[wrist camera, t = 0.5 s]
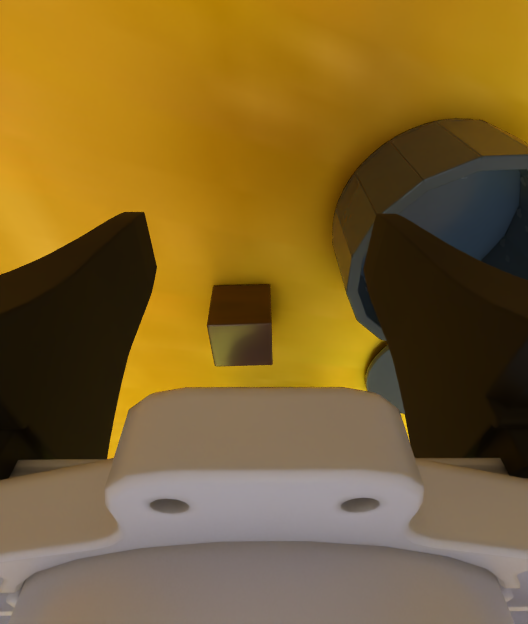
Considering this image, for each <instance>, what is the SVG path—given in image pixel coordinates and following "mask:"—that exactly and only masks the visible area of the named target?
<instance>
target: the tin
mask: <svg viewBox="0 0 528 624" xmlns="http://www.w3.org/2000/svg"><path fill="white" fill-rule="evenodd" d="M376 213H380V214H398V215H400V216H402V217H404V218H406V219H408V220H410V221H411V222H413V223H415V224H416V225H418V226H420V227H421V228H423V229H424V230H426V231H428V232H429V233H431V234H433V235H434V236H436V237H437V238H439V239H441V240H442V241H444V242H446V243H448V244H449V245H451V246H453V247H455V248H456V249H458V250H460V251H462V252H464V253H466V254H468V255H470V256H471V257H473V258H475V259H477V260H480V261H482V262H484V263H486V264H488V265H491V266H493V267H495V268H497V269H500V270H502V271H504V272H507V273H509V274H512V275H514V276H517V277H520V278H522V279H525V280H528V143H526V142H524V141H522V140H521V139H519V138H517V137H516V136H514V135H512V134H510V133H508V132H505V131H503V130H501V129H499V128H498V127H496V126H494V125H491V124H489V123H487V122H485V121H483V120H473V119H459V118H454V119H445V120H438V121H434V122H430V123H426V124H423V125H420V126H418V127H415V128H412V129H410V130H408V131H406V132H404V133H402V134H400V135H398V136H396V137H394V138H393V139H391V140H390V141H388V142H387V143H385V144H384V145H382V146H381V147H380V148H379V149H377V150H376V151H375V152H374V153H373V154H371V155H370V156H369V157H368V158H367V159H366V160H365V161H364V162H363V163H362V164H361V165H360V167H359V168H358V169H357V170H356V172H355V173H354V174H353V175H352V177H351V178H350V180H349V181H348V183H347V185H346V186H345V188H344V190H343V192H342V194H341V196H340V198H339V200H338V203H337V207H336V210H335V213H334V219H333V230H332V235H333V239H332V244H333V248H334V251H335V255H336V259H337V262H338V266H339V269H340V273H341V276H342V280H343V283H344V287H345V290H346V294H347V296H348V299H349V301H350V304H351V307H352V309H353V312H354V314H355V317H356V320H357V321H358V322H359V323H361V324H362V325H363V326H364V327H366V328H367V329H368V330H369V331H370V332H372V333H373V334H374V335H375V336H377V337H378V338H379V339H381V340H384V341H386V339H385V336H384V333H383V331H382V328H381V325H380V323H379V320H378V318H377V315H376V312H375V310H374V307H373V304H372V302H371V299H370V296H369V293H368V289H367V285H366V280H365V274H364V269H363V267H364V263H365V259H366V254H367V250H368V246H369V242H370V238H371V233H372V229H373V225H374V221H375V217H376Z"/></svg>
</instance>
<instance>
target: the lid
mask: <svg viewBox="0 0 528 624" xmlns="http://www.w3.org/2000/svg"><path fill="white" fill-rule="evenodd" d="M365 382H366V388H367V391H368V392H373V393H376V394H379V395H381V396H382V397H383V398H384V399H386V400H387V401H388V402H390V403H391V404H392V405H394V406H395V407H396V408H398V409H399V412H400V413H403V414H405V412H404V407H403V403H402V398H401V393H400V389H399V384H398V380H397V376H396V372H395V368H394V363H393V359H392V356H391V353H390V350H389V347H388V345H387V346H386V347H385V348H383V349H382V350H381V351H380V352H379V353H378V354H377V355H376V356H375V358H374V359H373V360H372V362H371V363H370V365H369V367H368V370H367V372H366V378H365Z"/></svg>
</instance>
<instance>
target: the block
mask: <svg viewBox="0 0 528 624" xmlns="http://www.w3.org/2000/svg"><path fill="white" fill-rule="evenodd" d="M207 328H208V334H209V339H210V344H211V349H212V354H213V359H214V364H215V366H247V365H272V364H273V359H272V321H271V292H270V284H259V285H227V286H213V290H212V296H211V303H210V309H209V315H208V322H207Z"/></svg>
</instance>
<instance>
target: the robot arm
mask: <svg viewBox="0 0 528 624" xmlns="http://www.w3.org/2000/svg"><path fill="white" fill-rule="evenodd" d="M156 269H157V266H156V261H155V257H154V253H153V248H152V244H151V239H150V235H149V231H148V226H147V222H146V218H145V213H144V212H123V213H121V214H119V215H117V216H115V217H113V218H111V219H109V220H108V221H106V222H104V223H103V224H101V225H99V226H98V227H96V228H94V229H93V230H91V231H90V232H88V233H86V234H85V235H83V236H81V237H80V238H78V239H76V240H74V241H72V242H71V243H69V244H67V245H65V246H63V247H61V248H60V249H58V250H56V251H54V252H52V253H50V254H48V255H46V256H44V257H42V258H40V259H38V260H36V261H34V262H31V263H29V264H27V265H24V266H22V267H20V268H17V269H15V270H12V271H10V272H7V273H4V274H1V275H0V624H528V280H525V279H522V278H520V277H517V276H514V275H512V274H509V273H507V272H504V271H502V270H500V269H497V268H495V267H493V266H491V265H488V264H486V263H484V262H482V261H480V260H477V259H475V258H473V257H471V256H470V255H468V254H466V253H464V252H462V251H460V250H458V249H456V248H455V247H453V246H451V245H449V244H448V243H446V242H444V241H442V240H441V239H439V238H437V237H436V236H434V235H433V234H431V233H429V232H428V231H426V230H424V229H423V228H421V227H420V226H418V225H416V224H415V223H413V222H411V221H410V220H408V219H406V218H404V217H402V216H400V215H398V214H380V213H376V217H375V221H374V225H373V229H372V233H371V238H370V242H369V246H368V250H367V254H366V259H365V263H364V267H363V269H364V274H365V280H366V285H367V289H368V293H369V296H370V299H371V302H372V304H373V307H374V310H375V312H376V315H377V318H378V320H379V323H380V325H381V328H382V331H383V333H384V336H385V339H386V341H387V344H388V347H389V350H390V353H391V356H392V359H393V363H394V368H395V372H396V376H397V380H398V384H399V389H400V393H401V398H402V403H403V407H404V412H405V417H406V423H407V428H408V434H409V439H410V442H409V439H408V436H407V433H406V430H405V427H404V424H403V421H402V418H401V415H400V412H399V409H398V408H396V407H395V406H394V405H392V404H391V403H390V402H388V401H387V400H386V399H384V398H383V397H382V396H381V395H379V394H376V393H373V392H368V391H362V390H356V389H350V388H344V387H186V388H180V389H174V390H168V391H162V392H156V393H153V394H150V395H148V396H147V397H146V398H144V399H143V400H142V401H140V402H139V403H138V404H136V405H135V406H133V407H132V408H131V409H129V411H128V415H127V418H126V421H125V424H124V427H123V431H122V434H121V437H120V440H119V444H118V447H117V450H116V453H115V456H114V458H112V459H107V455H108V449H109V443H110V437H111V432H112V427H113V421H114V416H115V411H116V406H117V401H118V397H119V392H120V388H121V383H122V379H123V375H124V371H125V367H126V363H127V359H128V355H129V352H130V349H131V346H132V343H133V341H134V338H135V335H136V333H137V330H138V328H139V325H140V322H141V320H142V317H143V315H144V312H145V309H146V307H147V304H148V301H149V299H150V296H151V293H152V289H153V285H154V280H155V274H156Z"/></svg>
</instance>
